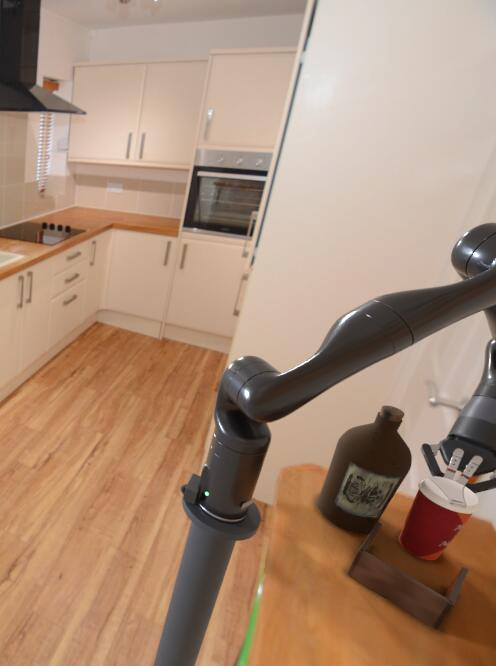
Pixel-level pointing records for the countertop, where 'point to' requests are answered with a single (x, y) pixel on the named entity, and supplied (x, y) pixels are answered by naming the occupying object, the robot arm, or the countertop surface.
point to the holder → (404, 585)
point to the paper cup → (436, 516)
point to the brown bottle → (365, 472)
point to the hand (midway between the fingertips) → (441, 503)
